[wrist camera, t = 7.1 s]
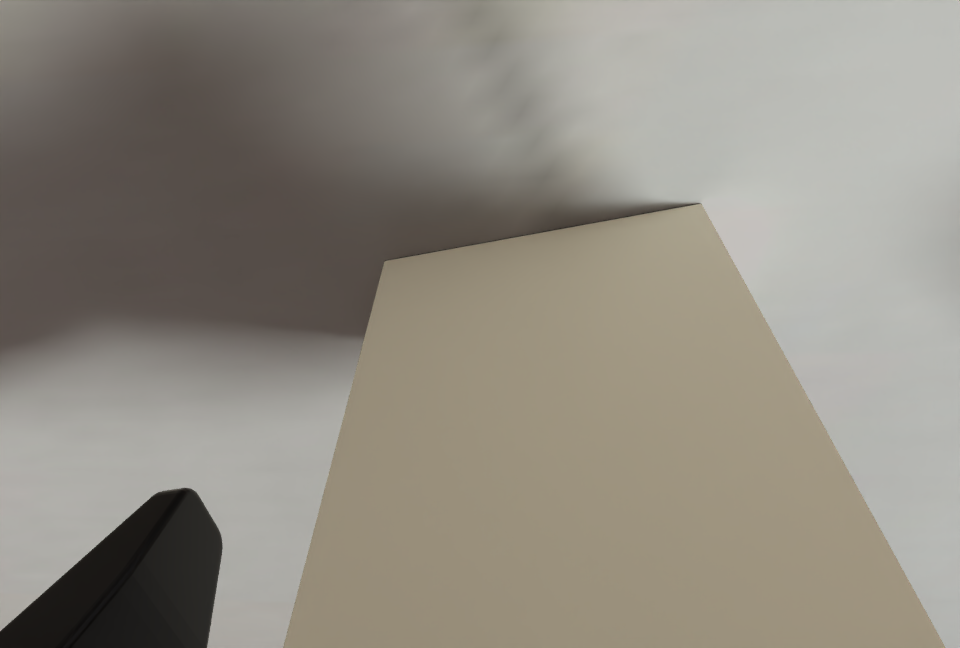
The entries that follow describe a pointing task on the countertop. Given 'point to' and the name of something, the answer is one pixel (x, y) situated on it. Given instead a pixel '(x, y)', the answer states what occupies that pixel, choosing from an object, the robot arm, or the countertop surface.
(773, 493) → the domino
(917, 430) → the countertop surface
